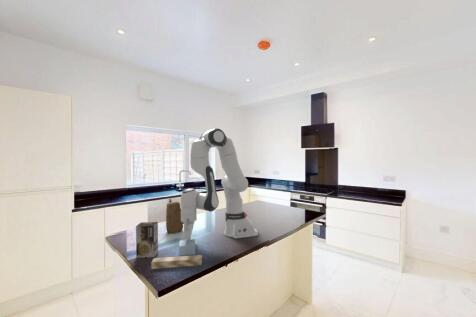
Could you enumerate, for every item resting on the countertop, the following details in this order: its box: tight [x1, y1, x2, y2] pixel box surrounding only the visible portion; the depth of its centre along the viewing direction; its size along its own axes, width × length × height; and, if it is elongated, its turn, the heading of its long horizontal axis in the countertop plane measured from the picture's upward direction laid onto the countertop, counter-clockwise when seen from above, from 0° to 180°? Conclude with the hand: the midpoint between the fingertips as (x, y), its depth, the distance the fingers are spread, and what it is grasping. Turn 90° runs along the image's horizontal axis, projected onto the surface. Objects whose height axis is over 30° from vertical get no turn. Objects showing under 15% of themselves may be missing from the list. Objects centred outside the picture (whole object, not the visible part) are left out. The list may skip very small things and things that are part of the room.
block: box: [165, 201, 184, 234], centre depth 143 cm, size 11×8×20 cm
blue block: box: [178, 238, 196, 256], centre depth 111 cm, size 8×8×5 cm
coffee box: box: [135, 221, 159, 259], centre depth 108 cm, size 9×6×16 cm
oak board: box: [151, 254, 203, 270], centre depth 97 cm, size 22×4×3 cm, turn 98°
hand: (188, 241), depth 119 cm, fingers closed
